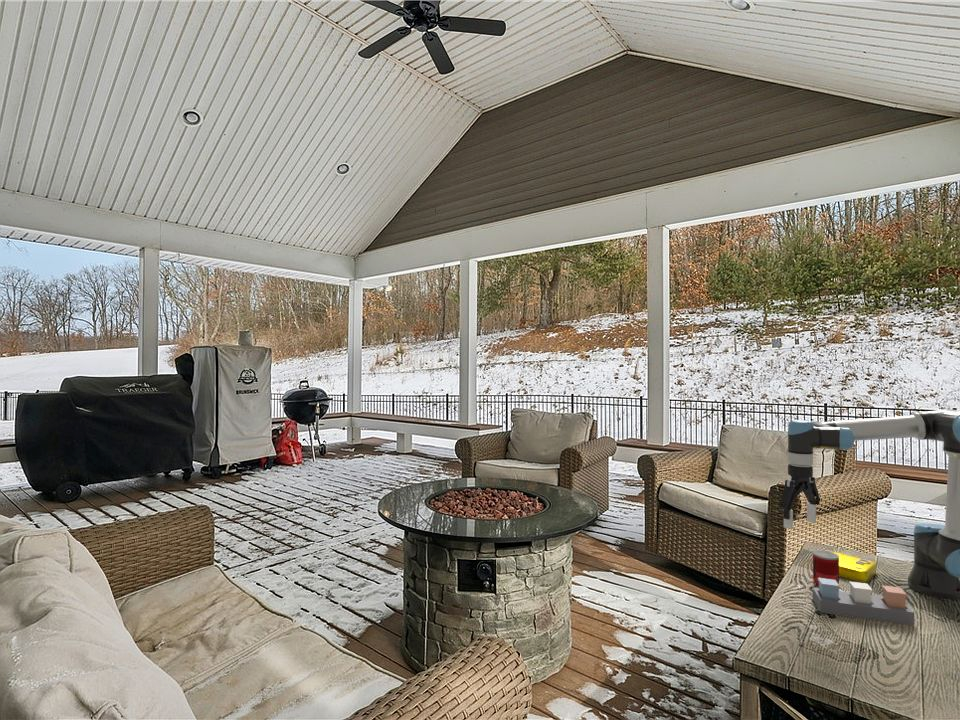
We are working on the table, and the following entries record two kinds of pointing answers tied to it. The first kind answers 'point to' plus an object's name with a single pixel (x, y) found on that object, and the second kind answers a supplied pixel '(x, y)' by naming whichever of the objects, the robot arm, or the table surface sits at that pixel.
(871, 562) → the element tile
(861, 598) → the white key
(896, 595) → the terracotta key
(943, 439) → the robot arm
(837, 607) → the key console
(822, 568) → the canned food
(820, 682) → the table surface
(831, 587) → the slate blue key
